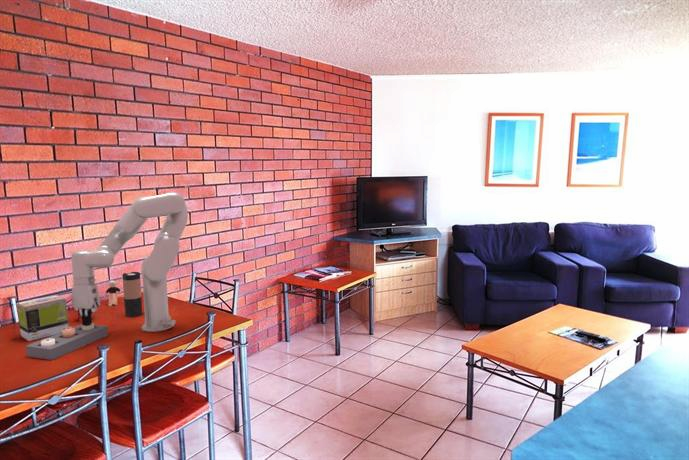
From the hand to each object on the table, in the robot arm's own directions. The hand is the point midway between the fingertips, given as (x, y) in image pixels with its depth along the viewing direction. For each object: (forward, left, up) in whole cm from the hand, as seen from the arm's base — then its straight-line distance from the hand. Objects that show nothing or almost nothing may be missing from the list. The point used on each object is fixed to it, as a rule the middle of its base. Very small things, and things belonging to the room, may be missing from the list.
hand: (87, 324), depth 187 cm
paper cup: (+20, -18, -6) cm, 27 cm away
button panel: (0, +9, -6) cm, 10 cm away
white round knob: (0, +18, -4) cm, 18 cm away
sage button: (0, 0, -4) cm, 4 cm away
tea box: (+21, +2, -6) cm, 22 cm away
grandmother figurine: (+26, -41, -6) cm, 49 cm away
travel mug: (+4, -30, -6) cm, 31 cm away
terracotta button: (0, +9, -3) cm, 9 cm away
